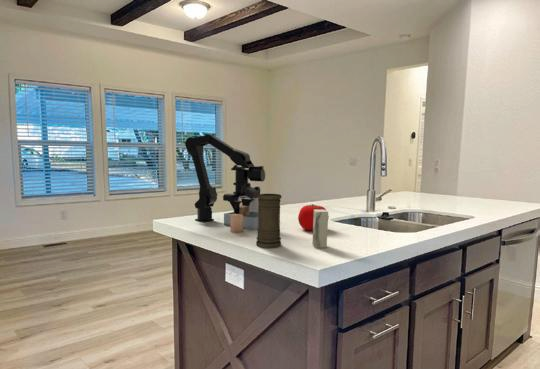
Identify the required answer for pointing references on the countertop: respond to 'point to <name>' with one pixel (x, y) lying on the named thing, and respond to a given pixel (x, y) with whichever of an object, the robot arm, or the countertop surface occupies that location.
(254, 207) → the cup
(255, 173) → the robot arm
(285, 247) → the countertop surface
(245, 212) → the cube
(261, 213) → the container
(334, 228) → the countertop surface
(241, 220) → the cylinder
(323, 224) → the box
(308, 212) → the tomato
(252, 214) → the box
